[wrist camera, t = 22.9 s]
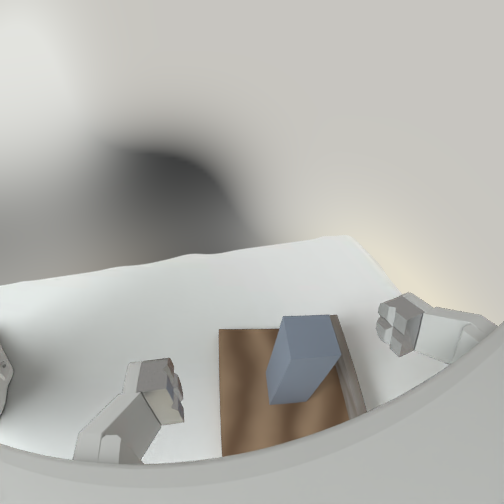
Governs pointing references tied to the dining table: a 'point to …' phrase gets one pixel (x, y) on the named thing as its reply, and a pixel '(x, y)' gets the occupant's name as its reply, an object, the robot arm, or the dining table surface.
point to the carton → (301, 358)
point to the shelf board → (257, 400)
